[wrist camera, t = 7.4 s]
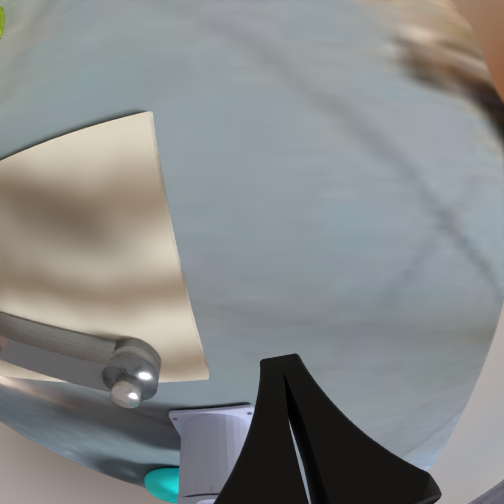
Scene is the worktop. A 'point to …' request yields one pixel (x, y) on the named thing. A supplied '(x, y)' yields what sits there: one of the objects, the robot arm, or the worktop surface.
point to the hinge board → (96, 245)
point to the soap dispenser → (1, 20)
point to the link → (83, 359)
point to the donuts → (163, 484)
